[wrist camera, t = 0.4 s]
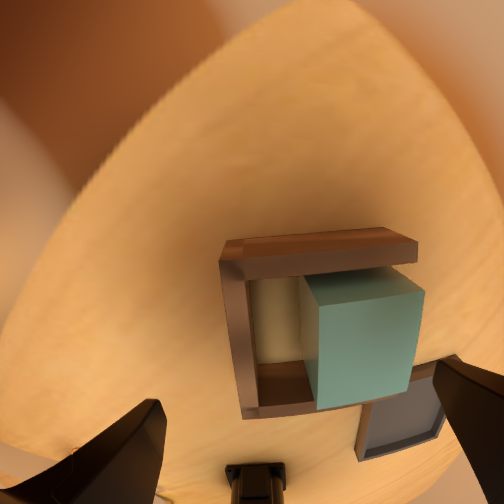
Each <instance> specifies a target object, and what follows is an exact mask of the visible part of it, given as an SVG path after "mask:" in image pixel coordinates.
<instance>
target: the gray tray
mask: <svg viewBox="0 0 504 504" xmlns="http://www.w3.org/2000/svg"><path fill="white" fill-rule="evenodd" d="M449 357H450V358H453V359H455V360H458V361H461V362H463V361H462V360H461V359H460V358H459V357H458V356H457V355H456V354H455V355H452V356H449ZM437 361H438V360H436V361H432V362H429V363H425V364H422V365H418V366H414V367H412V371H411V376H410V380H409V384H408V388H407V391H405V392H401V393H398V394H397V396H396V397H392V398H388V399H384V400H380V401H375V402H371V403H366V404H363V409H362V415H361V420H360V425H359V430H358V434H357V439H356V444H355V448H354V451H355V453H356V457H357V460H358V462H361V461H365V460H369V459H373V458H377V457H381V456H384V455H388V454H391V453H395V452H398V451H401V450H404V449H407V448H410V447H413V446H416V445H419V444H422V443H425V442H427V441H430V440H433V439H435V438H437V437H438V435H439V433H440V431H441V428H442V426H443V424H444V422H445V419H446V415H445V413H444V411H443V408H442V406H441V403H440V401H439V399H438V396H437V394H436V392H435V389H434V387H433V384H432V379H433V374H434V370H435V366H436V363H437Z"/></svg>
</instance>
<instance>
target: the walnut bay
mask: <svg viewBox="0 0 504 504" xmlns="http://www.w3.org/2000/svg"><path fill="white" fill-rule="evenodd" d="M417 258H418V242H417V241H415V240H413V239H410V238H408V237H406V236H403V235H401V234H399V233H396V232H394V231H391V230H389V229H387V228H384V227H381V228H368V229H355V230H343V231H330V232H318V233H307V234H295V235H284V236H272V237H261V238H250V239H239V240H229V241H226V244H225V246H224V249H223V251H222V254H221V256H220V259H219V267H220V275H221V282H222V290H223V297H224V304H225V312H226V319H227V326H228V332H229V339H230V346H231V352H232V359H233V365H234V371H235V378H236V384H237V390H238V396H239V402H240V408H241V413H242V419H243V420H246V419H262V418H275V417H285V416H294V415H302V414H310V413H317V412H324V411H330V410H336V409H341V408H347V407H352V406H357V405H362V404H366V403H371V402H375V401H380V400H384V399H388V398H392V397H396V396H397V394H398V393H397V394H394V395H390V396H386V397H381V398H377V399H373V400H368V401H364V402H359V403H354V404H349V405H344V406H338V407H332V408H326V409H320V410H317V409H316V405H315V401H314V397H313V393H312V390H311V386H310V382H309V378H308V374H307V371H306V367H305V363H304V361H295V362H286V363H276V364H265V365H258V364H257V355H256V346H255V336H254V327H253V317H252V308H251V298H250V289H249V280H258V279H269V278H280V277H290V276H301V275H311V274H320V273H330V272H339V271H348V270H357V269H366V268H374V267H383V266H391V265H399V264H407V263H415V262H417Z"/></svg>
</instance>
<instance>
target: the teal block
mask: <svg viewBox="0 0 504 504" xmlns="http://www.w3.org/2000/svg"><path fill="white" fill-rule="evenodd" d="M298 277H299V300H300V330H301V352H302V356H303V360H304V363H305V367H306V371H307V374H308V378H309V382H310V386H311V390H312V393H313V397H314V401H315V405H316V409H317V410H320V409H326V408H332V407H338V406H344V405H349V404H354V403H359V402H364V401H368V400H373V399H377V398H381V397H386V396H390V395H394V394H397V393H401V392H405V391H407V388H408V384H409V380H410V376H411V371H412V367H413V362H414V357H415V353H416V347H417V342H418V336H419V331H420V324H421V318H422V311H423V303H424V295H425V290H423V289H422V288H421V287H419V286H418V285H416V284H415V283H414V282H412V281H411V280H409V279H408V278H407V277H405V276H404V275H402V274H401V273H399V272H398V271H397V270H395V269H394V268H392V267H391V266H383V267H374V268H366V269H357V270H348V271H339V272H330V273H320V274H311V275H301V276H298Z"/></svg>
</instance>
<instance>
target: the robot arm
mask: <svg viewBox="0 0 504 504" xmlns="http://www.w3.org/2000/svg"><path fill="white" fill-rule="evenodd" d="M432 384H433V387H434V389H435V392H436V394H437V396H438V399H439V401H440V403H441V406H442V408H443V411H444V413H445V415H446V418H447V420H448V422H449V424H450V426H451V427H452V429H453V431H454V433H455V435H456V437H457V439H458V441H459V443H460V444H461V446H462V448H463V450H464V452H465V454H466V456H467V458H468V460H469V462H470V464H471V467H472V469H473V471H474V473H475V475H476V477H477V479H478V481H479V484H480V486H481V488H482V490H483V493H484V495H485V497H486V500H487V502H488V504H504V376H503V375H500V374H497V373H494V372H491V371H488V370H485V369H482V368H479V367H476V366H473V365H470V364H467V363H464V362H461V361H458V360H455V359H453V358H450V357H445V358H442V359H439V360H438V361H437V363H436V366H435V370H434V374H433V379H432ZM166 427H167V418H166V415H165V412H164V410H163V407H162V405H161V402H160V401H159V400H158V399H145V400H144V401H142V402H141V403H140V404H139V405H137V406H136V407H135V408H133V409H132V410H131V411H129V412H128V413H127V414H125V415H124V416H123V417H121V418H120V419H119V420H117V421H116V422H115V423H113V424H112V425H111V426H109V427H108V428H107V429H105V430H104V431H103V432H101V433H100V434H99V435H97V436H96V437H94V438H93V439H92V440H90V441H89V442H87V443H86V444H85V445H83V446H82V447H80V448H79V449H78V450H76V451H75V452H73V454H70V455H69V456H67V457H66V458H65V459H63V460H62V461H60V462H59V463H57V464H56V465H54V466H52V467H50V468H49V469H47V470H45V471H43V472H42V473H40V474H38V475H36V476H34V477H32V478H30V479H28V480H26V481H24V482H22V483H20V484H18V485H16V486H13V487H11V488H7V489H0V504H153V500H154V496H155V491H156V487H157V483H158V479H159V474H160V470H161V466H162V461H163V453H164V444H165V436H166ZM225 472H226V475H227V478H228V481H229V484H230V487H231V490H232V491H231V504H284V497H283V491H285V490H286V479H285V465H284V464H283V463H278V464H266V465H247V466H227V467H226V468H225Z"/></svg>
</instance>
